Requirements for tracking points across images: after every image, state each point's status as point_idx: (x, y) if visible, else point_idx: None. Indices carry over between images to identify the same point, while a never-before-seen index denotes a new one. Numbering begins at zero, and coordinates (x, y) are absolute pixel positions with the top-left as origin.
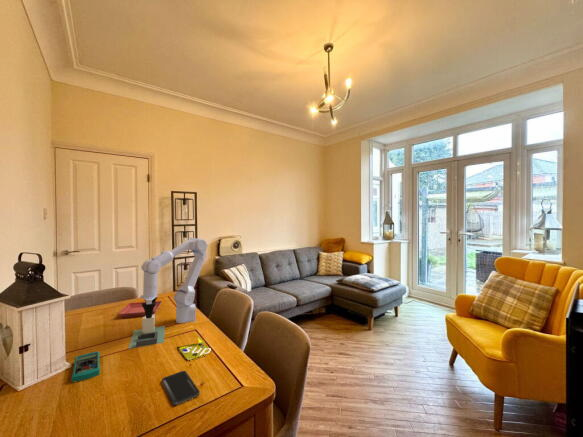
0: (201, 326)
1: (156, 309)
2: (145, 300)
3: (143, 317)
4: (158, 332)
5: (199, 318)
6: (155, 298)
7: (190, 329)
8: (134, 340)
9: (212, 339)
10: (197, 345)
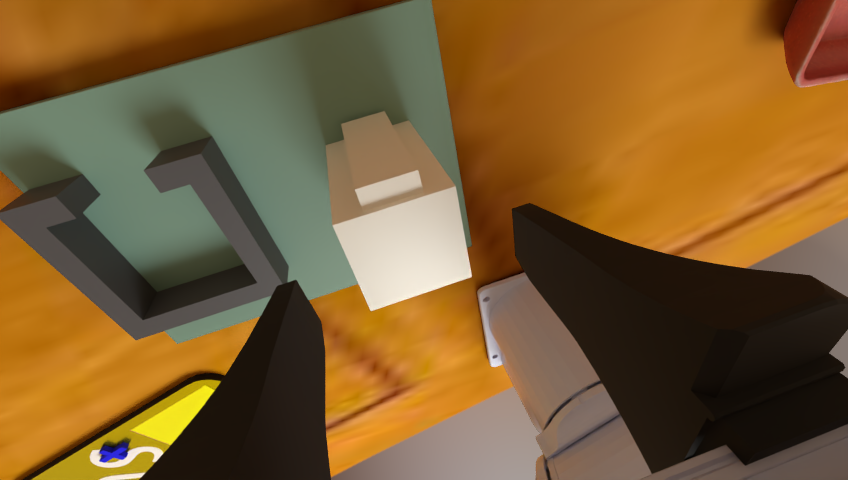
0: (439, 396)
1: (829, 78)
2: (670, 317)
3: (400, 183)
4: None
5: None
6: (649, 449)
7: (410, 369)
8: (167, 112)
9: None
10: None
